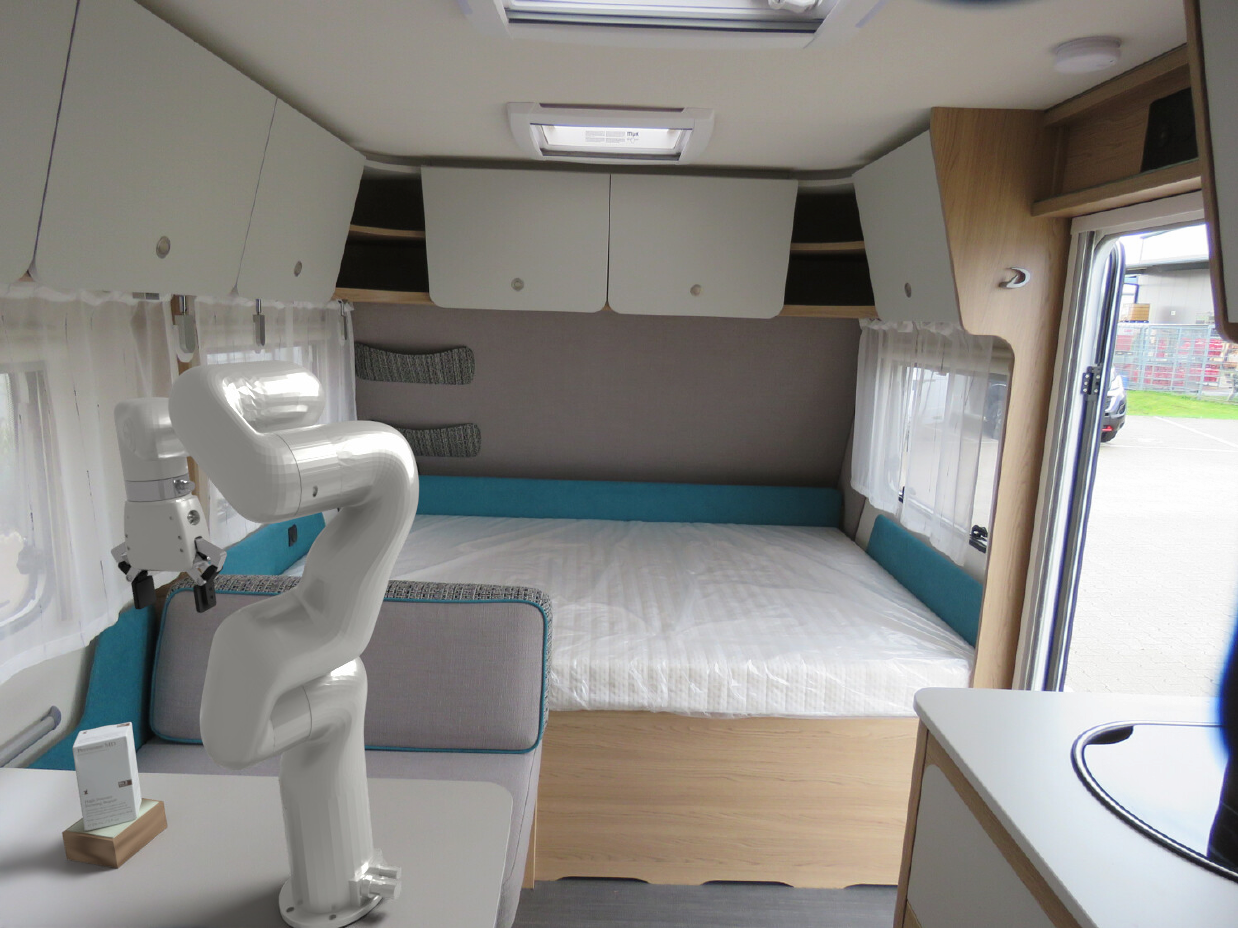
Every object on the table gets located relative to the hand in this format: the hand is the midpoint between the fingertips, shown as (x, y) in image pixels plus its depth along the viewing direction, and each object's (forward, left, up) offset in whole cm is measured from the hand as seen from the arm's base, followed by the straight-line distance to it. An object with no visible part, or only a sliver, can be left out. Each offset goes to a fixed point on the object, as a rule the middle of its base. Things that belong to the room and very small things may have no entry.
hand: (176, 607), depth 104 cm
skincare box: (+3, +11, -25) cm, 28 cm away
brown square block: (+3, +11, -29) cm, 32 cm away
